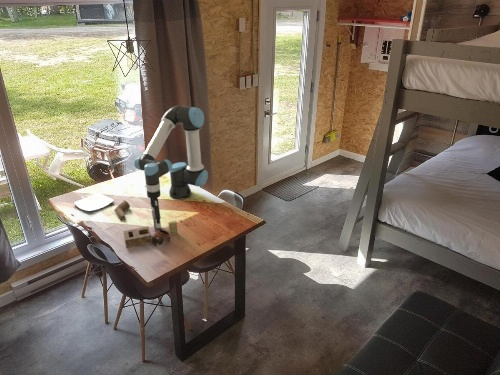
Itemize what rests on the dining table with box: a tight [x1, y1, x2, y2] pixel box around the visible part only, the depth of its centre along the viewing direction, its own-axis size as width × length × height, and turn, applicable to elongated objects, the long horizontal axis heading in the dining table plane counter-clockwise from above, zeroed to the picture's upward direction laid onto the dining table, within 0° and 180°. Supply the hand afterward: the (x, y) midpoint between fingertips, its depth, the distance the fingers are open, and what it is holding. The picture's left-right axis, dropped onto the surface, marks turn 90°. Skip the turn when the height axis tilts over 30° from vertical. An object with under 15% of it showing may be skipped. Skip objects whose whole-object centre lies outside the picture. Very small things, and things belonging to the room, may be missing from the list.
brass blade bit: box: [168, 220, 179, 236], centre depth 226 cm, size 4×2×8 cm, turn 112°
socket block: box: [123, 226, 153, 249], centre depth 220 cm, size 14×10×5 cm
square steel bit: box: [151, 208, 162, 232], centre depth 229 cm, size 4×4×14 cm
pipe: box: [113, 200, 131, 221], centre depth 247 cm, size 6×17×10 cm
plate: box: [73, 192, 115, 213], centre depth 258 cm, size 20×20×3 cm
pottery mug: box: [151, 228, 171, 247], centre depth 218 cm, size 12×10×8 cm
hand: (156, 221), depth 229 cm, fingers open, 13 cm apart
